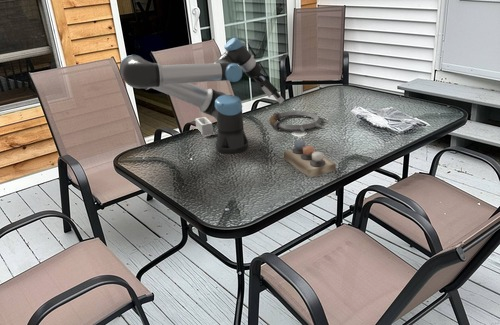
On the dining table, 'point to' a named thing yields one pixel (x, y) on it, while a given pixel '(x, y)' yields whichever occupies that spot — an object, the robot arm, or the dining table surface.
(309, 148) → the button terracotta
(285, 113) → the spiked ring
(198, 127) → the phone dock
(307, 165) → the button panel
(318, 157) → the button cream
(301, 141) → the button slate
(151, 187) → the dining table surface
